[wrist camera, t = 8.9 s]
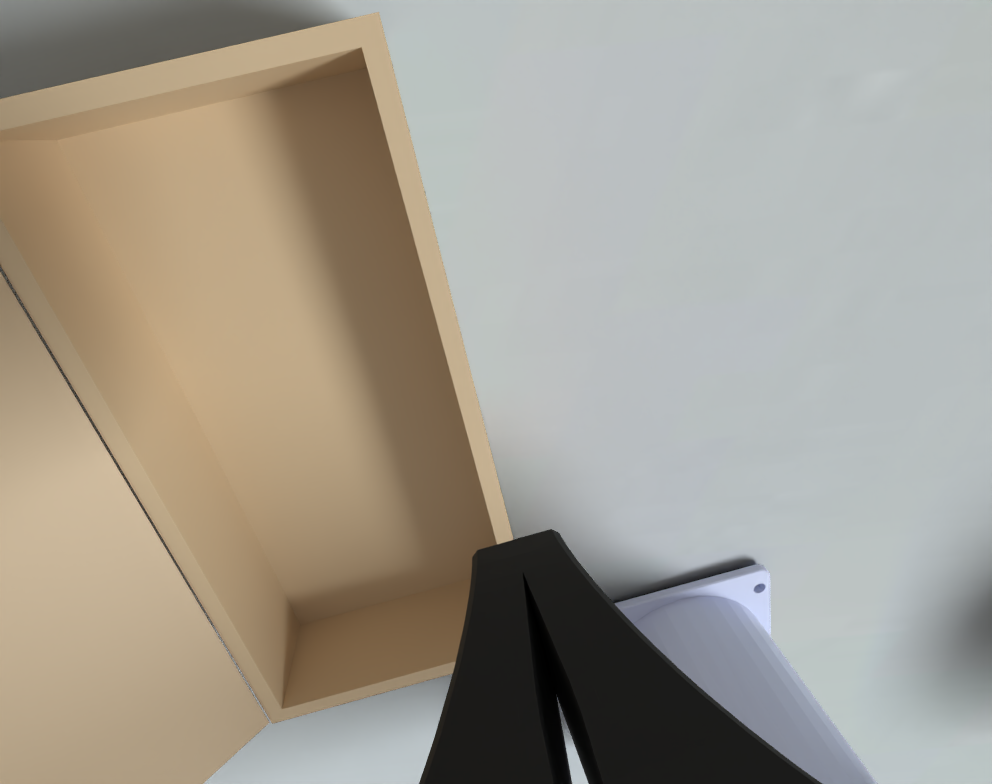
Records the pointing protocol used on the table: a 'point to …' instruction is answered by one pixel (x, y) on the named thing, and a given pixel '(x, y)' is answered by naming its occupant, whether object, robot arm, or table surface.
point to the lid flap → (95, 606)
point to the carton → (266, 346)
